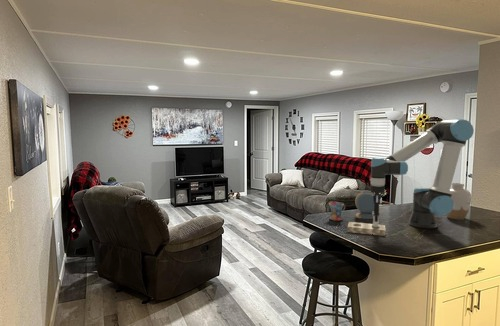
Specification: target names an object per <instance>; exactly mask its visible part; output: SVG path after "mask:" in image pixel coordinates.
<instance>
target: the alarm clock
mask: <svg viewBox="0 0 500 326" xmlns="http://www.w3.org/2000/svg"><path fill="white" fill-rule="evenodd" d="M373 195H375V193H373V192H371V191H370V190H365V189H364V190H362V191H361V192H360V193H358V194H357V195H356V197H355V198H354V199H355V200H354V203H355V206H356V209H357V210H358V211H359V212H357V213H355V216H356V218H357V219H367V220H369V219H370V220H373V213H374V199H373Z"/></svg>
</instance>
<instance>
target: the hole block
mask: <svg viewBox="0 0 500 326" xmlns="http://www.w3.org/2000/svg"><path fill="white" fill-rule="evenodd" d="M347 233H354V234H355V233H356V234H365V235H372V234H373V235H374V236H384V237H386V225H385V224H379V226H378V228H373V223H365V222H355V221H348V224H347Z"/></svg>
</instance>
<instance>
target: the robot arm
mask: <svg viewBox="0 0 500 326" xmlns="http://www.w3.org/2000/svg"><path fill="white" fill-rule="evenodd" d="M473 136H474V125H473V124H472V123H471V121H469V120H467V119H461V118H456V119H444V120H441V121H439V122H438V123H436V124H433V126H431V127H430V128H428V129H426V130H425V132H424V133H423V134H422V135H420V136H419V137H417V138H415V139H413V140H412V141H411V142H409V143H408V144H406V145H405V146H403V147H401V148H400V149H399V150H397V151H395V152H394V153H392V154H390V155H389V156H387V157H386V158H385V157H372V158H371V162H370V163H371V164H370V179H369V181H370V186H369V187H370V188H369V191H371V193H373V194H374V195H373V199H374V211H373V213H374V214H373V213H372V214H373V216H374V222H373V221H372V224H373V227H378V225H380V224H379V223H380V215H381V212H380V204H381V199H382V196H381V194H384V193H385V189H386V187H385V185H386V176H389V175H390V176H393V175H394V176H396V175H397V176H401V175H406V174H408V171H409V166H408V163H407V161H408V160H409V159H411V158H412V157H414V156H416V155H418V154H419V153H421V152H422V151H423V150H425V149H427V148H428V147H430V146H432V145H433V144H434V145H435V144H438V143H440V142H441V143H442V144H443V147H442V150H441V154H440V158H439V161H438V166H437V169H436V173H435V177H434V180H433V184H432V186H430V187H416V188H414V189H413V198H412V213H411V215H410V217H409V219H408V224H409V225H410V226H412V227H415V228H419V229H436V228H437V227H438V226H437V219H436V216H447V215H446V214H448V213H450V212H451V211H452V209H453V206H454V202H453V200H452V199H451V196H452V192H451V191H450V188H452V183H453V179H454V177H455V173H456V168H457V164H458V161H459V159H460V154H461V149H462V148H463V147H465V146H466V144H467V141H468V140H470V139H471V138H472V137H473ZM435 215H436V216H435Z"/></svg>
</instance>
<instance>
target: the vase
mask: <svg viewBox="0 0 500 326" xmlns="http://www.w3.org/2000/svg"><path fill="white" fill-rule="evenodd" d="M464 186H465V183H461V182H459V183H458V182H456V183H455V182H452V184H451V188H450V191H451V192H452V196H451V199H452V200H453V202H454V206H453V209H452V211H451V212H450V213H448V214H446V215H445V216H446V217H447V218H448V219H451V220H457V221H462V220H465V219H466V218H467V215H468V213H469V211H470V208H471V204H472V194H471V192H470V190H468V189H465V188H464Z"/></svg>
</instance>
